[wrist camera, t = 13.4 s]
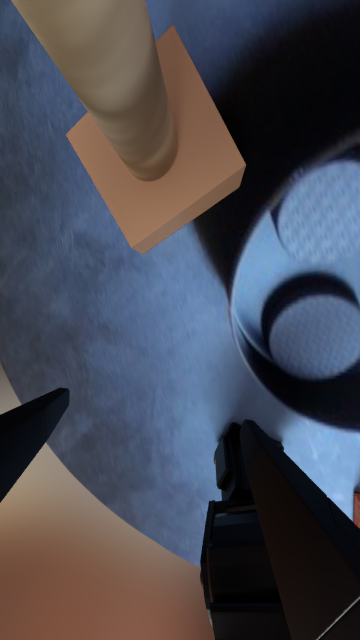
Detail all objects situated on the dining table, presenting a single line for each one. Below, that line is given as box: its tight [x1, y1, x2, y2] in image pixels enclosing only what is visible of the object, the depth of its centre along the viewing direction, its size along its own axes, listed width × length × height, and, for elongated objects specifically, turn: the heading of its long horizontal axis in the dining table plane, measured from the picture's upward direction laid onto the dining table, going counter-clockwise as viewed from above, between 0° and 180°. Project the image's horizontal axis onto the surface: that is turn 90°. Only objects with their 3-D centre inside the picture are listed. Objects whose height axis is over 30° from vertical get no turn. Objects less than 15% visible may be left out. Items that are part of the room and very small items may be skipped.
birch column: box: [11, 0, 178, 182], centre depth 8 cm, size 5×5×13 cm
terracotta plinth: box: [66, 25, 246, 254], centre depth 16 cm, size 12×12×3 cm
